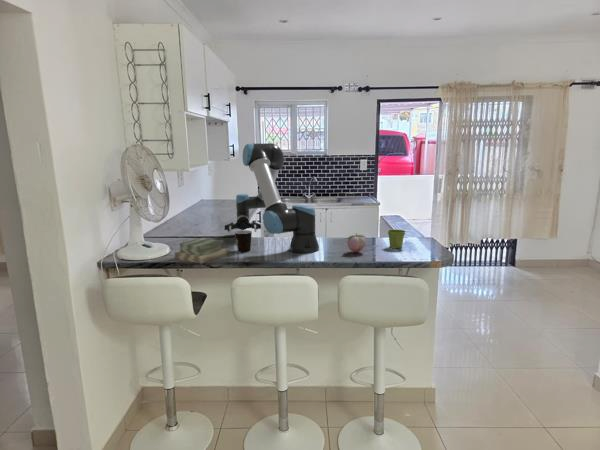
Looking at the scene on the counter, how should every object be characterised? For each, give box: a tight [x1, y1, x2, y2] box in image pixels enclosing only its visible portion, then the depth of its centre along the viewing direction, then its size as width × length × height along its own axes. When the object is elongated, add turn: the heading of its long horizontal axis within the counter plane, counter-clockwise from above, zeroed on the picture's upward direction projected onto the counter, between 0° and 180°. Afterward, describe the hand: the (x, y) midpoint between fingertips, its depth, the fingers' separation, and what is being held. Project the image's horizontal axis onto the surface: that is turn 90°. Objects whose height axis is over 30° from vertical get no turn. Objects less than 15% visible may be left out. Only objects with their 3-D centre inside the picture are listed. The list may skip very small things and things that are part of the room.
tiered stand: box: [174, 237, 229, 265], centre depth 193 cm, size 18×18×8 cm
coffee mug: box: [234, 229, 253, 253], centre depth 202 cm, size 12×9×10 cm
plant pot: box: [387, 228, 407, 249], centre depth 204 cm, size 9×9×9 cm
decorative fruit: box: [346, 233, 367, 254], centre depth 195 cm, size 9×8×10 cm
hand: (242, 230), depth 211 cm, fingers open, 13 cm apart
